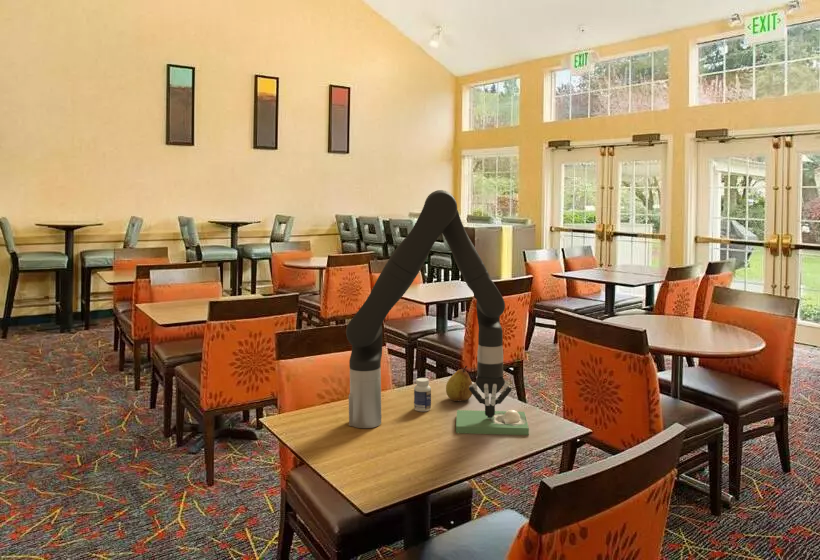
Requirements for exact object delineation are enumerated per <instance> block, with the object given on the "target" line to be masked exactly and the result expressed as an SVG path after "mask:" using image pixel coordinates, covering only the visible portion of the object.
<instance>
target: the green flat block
mask: <svg viewBox="0 0 820 560" xmlns="http://www.w3.org/2000/svg"><path fill="white" fill-rule="evenodd" d="M507 411H508V410H505V411H504V410H495V415H494V416H492V418H487V416H486V415H485V410H472V409H471V410H469V409H468V410H466V409H465V410H464V409H463V410H462V409H461V410H460V409H457V410H456V419H455V420H456V421H455V422H456V423H455V433H456V434H472V435H473V434H481V435H510V436H511V435H515V436H518V435H519V436H529V433H530V427H529V425H528V419H527V415H526V412H525V411H517V412H518V413H519V415H520V421H519V422H517V423H512V424H508V423H505V422H504V414H505V413H506V412H507Z"/></svg>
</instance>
